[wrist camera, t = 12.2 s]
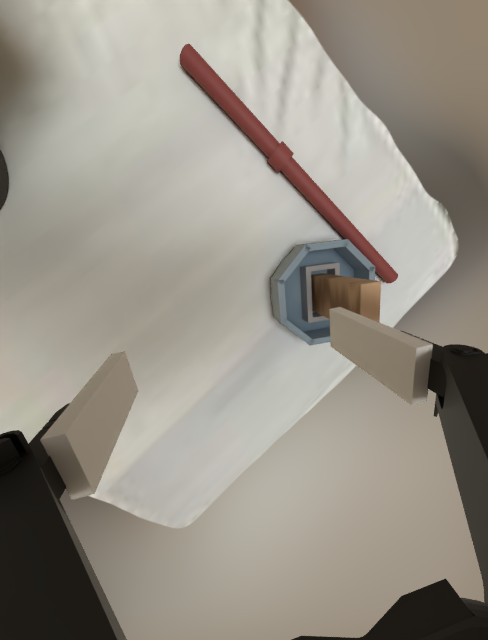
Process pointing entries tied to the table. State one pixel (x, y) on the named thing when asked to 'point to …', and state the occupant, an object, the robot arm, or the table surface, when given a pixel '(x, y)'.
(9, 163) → the table surface
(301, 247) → the octagonal blue tray
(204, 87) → the rolling pin
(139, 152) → the table surface
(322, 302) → the flat wood plank
